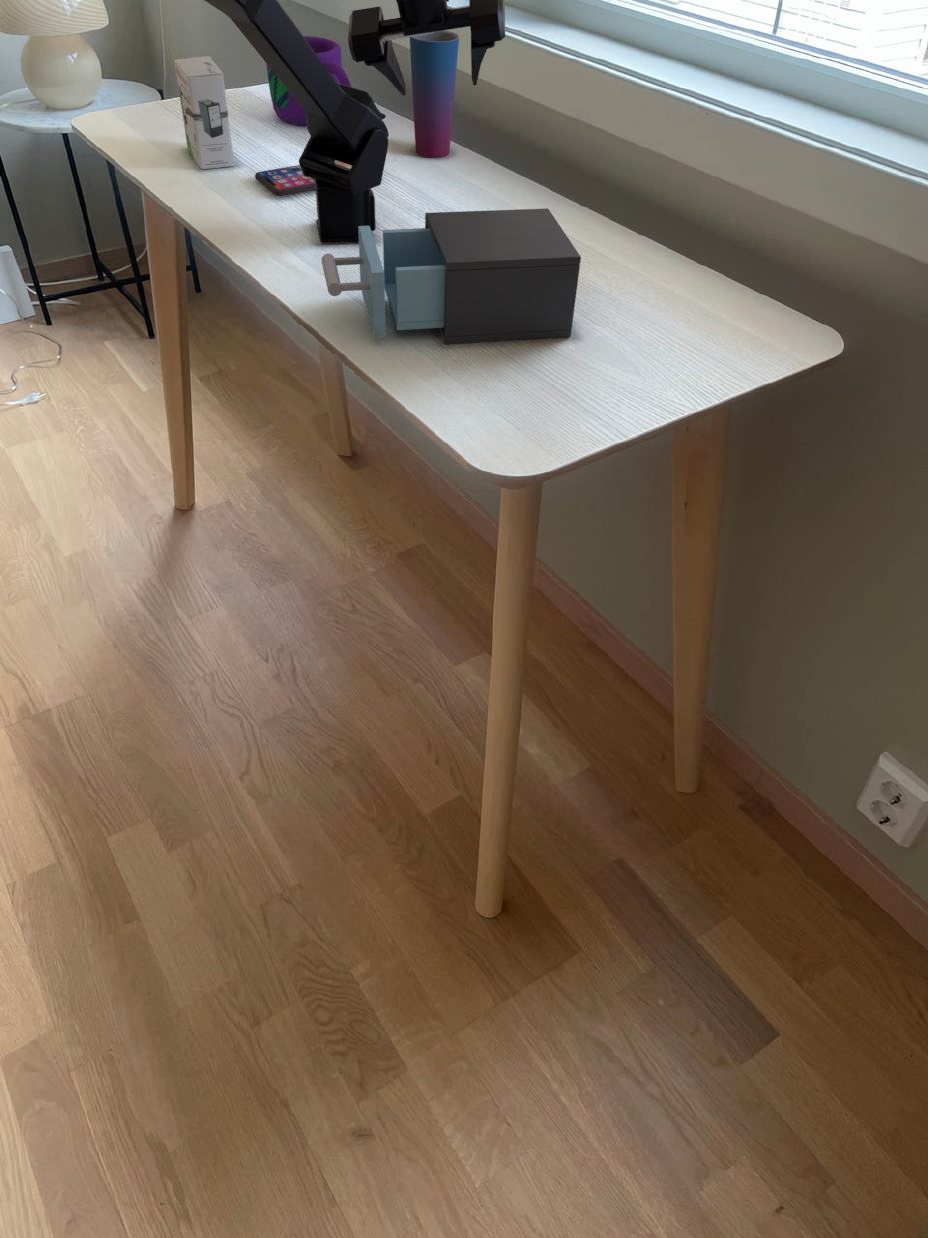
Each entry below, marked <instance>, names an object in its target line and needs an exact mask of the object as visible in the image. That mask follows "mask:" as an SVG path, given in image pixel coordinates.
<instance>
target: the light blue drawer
mask: <svg viewBox="0 0 928 1238" xmlns="http://www.w3.org/2000/svg"><path fill="white" fill-rule="evenodd" d="M358 233H359V242H358V253H359V255H358V256H350V257H346V256H345V257H335V256H334V255H333V254H332V253H325V254H323V255H322V257H321V264H322V269H323V273H324V278H325V283H326V288H327V292H328V294H329V295H330V296H332V297H338V296H340V295H341V294H342V292H352V291H354V292H355V291H361V294H362V299H363V302H364V305H365V310H366V314H367V316H368V320H369V324H370V328H371V332H372V335H373V338H385V337H386V335H387V334H386V298H387V301H388V304H389V305H388V306H389V308H390V312H391V315H392V317H393V321H394V324H395V327H396V330H397V331H406V330H426V329H439V328H444V302H445V268H446V267H445V265H444V262H443V260H442V258H441V255H440V253H439V251H438V248H437V246H436V244H435V241H434V239H433V237H432V234H431V232H430V230H429V228H425V227H422V228H421V227H419V228H395V229H392V228H391V229H382V255H383V256H382V258H383V259H382V260H383V262H381V258H380V255H379V252H378V248H377V245H376V242H375V238H374V234H373V235H372V233H373V231H372V232H371V229H370V226H358ZM382 263H383V264H382ZM355 265H359V281H357V282H356V281H355V282H341V279H340V275H339V274H340V273H339V269H338V267H337V266H355ZM385 295H386V296H385Z"/></svg>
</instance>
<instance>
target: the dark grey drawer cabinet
mask: <svg viewBox="0 0 928 1238" xmlns="http://www.w3.org/2000/svg"><path fill="white" fill-rule="evenodd" d="M424 215H425V217H424V220H425V221H424V222H425V223H424V228H429V230H430V232H431V234H432V237H433V239H434V241H435V244H436V246H437V248H438V251H439V253H440V255H441V258H442V260H443V262H444V265H445V267H446V268H445V302H444V328H438V331H439V333H440V336H441V338H442V341H443V344H444V345H455V344H456V345H457V344H472V343H473V344H474V343H490V342H504V341H521V340H536V339H538V340H539V339H554V338H568V337H569V338H570V337H571V335H572V328H573V321H574V314H575V305H576V300H577V292H578V291H577V290H578V283H579V277H580V270H581V269H580V268H581V262H582V261H581V260H582V256H581V255H580V253H579V252H578V250H577V249H576V247H575V246H574V244H573V243H572V241H571V240H570V238H569V237H568V235H567V234H566V232H565V231H564V230H563V228H562V226H561V225H560V224H559V222H558V221H557V219H556V217H555V216H554V215H553V213H552V212H551V211H550V209H549V208H525V209H523V208H521V209H519V208H518V209H497V210H496V209H495V210H469V211H468V210H467V211H464V210H463V211H439V212H437V211H436V212H425V213H424Z"/></svg>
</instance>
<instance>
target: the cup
mask: <svg viewBox="0 0 928 1238" xmlns="http://www.w3.org/2000/svg"><path fill="white" fill-rule="evenodd" d="M459 43H460V35H459V34H458V33H456V32H453V31H450V30H443V31H436V32H434V33H433V34H428V35H422V36H415V37H409V52H410V70H411V71H410V72H411V73H410V74H411V90H412V109H413V110H412V111H413V127H414V147H415V153H416V154H417V155H418V156H420V157H423V158H429V159H439V158H445V157H447V156H449V155H450V149H451V139H452V138H451V137H452V128H453V127H452V124H453V114H454V101H455V90H456V78H457V67H458V55H459V54H458V53H459Z"/></svg>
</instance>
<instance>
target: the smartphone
mask: <svg viewBox="0 0 928 1238" xmlns="http://www.w3.org/2000/svg"><path fill="white" fill-rule="evenodd" d="M335 164H338V165H341V166H344V167H347V168H350V169H351V167H352V166H351V165H349V164H346V163H343V162H340V161H337V160H335ZM254 178H255V180H256V181H258V182H259V184H261V185H262V186H264V187H265V188H266V189H267V190H269V192H271V193H272V194H273V195H275V197H287V196H293V195H296V194H303V193H308V192H309V193H310V192H314V191H316V188H315V179H313V178H310V177H305V176H304V175H303V173H302V170H301V167H300V164H297V165H292V166H285V167H280V168H273V169H267V170H262V171H257V172H256V173H255V174H254Z"/></svg>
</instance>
